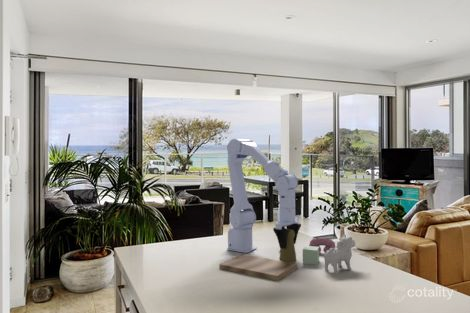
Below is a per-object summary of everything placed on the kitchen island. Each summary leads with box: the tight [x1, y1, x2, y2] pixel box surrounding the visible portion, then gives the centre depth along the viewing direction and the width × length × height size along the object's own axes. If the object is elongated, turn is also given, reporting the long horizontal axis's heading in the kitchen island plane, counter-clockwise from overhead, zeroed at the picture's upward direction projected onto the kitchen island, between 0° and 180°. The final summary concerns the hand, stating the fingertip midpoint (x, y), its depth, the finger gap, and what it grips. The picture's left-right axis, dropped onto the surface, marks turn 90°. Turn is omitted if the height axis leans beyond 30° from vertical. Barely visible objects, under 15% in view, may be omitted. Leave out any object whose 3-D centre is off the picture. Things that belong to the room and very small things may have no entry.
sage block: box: [302, 245, 320, 266], centre depth 131 cm, size 5×5×5 cm
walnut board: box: [218, 253, 298, 282], centre depth 125 cm, size 22×14×2 cm, turn 56°
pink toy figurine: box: [308, 237, 336, 254], centre depth 142 cm, size 10×5×7 cm, turn 71°
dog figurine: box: [323, 234, 356, 274], centre depth 123 cm, size 5×13×11 cm, turn 126°
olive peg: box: [279, 229, 297, 263], centre depth 134 cm, size 6×6×11 cm
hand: (287, 245), depth 134 cm, fingers open, 7 cm apart
